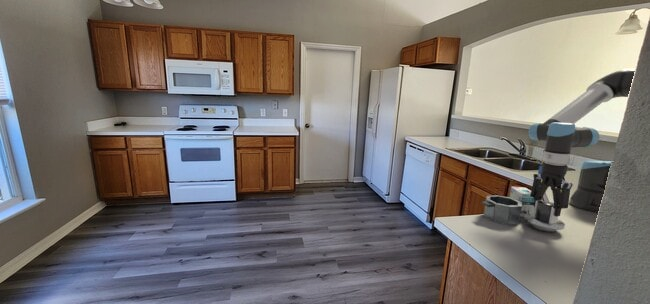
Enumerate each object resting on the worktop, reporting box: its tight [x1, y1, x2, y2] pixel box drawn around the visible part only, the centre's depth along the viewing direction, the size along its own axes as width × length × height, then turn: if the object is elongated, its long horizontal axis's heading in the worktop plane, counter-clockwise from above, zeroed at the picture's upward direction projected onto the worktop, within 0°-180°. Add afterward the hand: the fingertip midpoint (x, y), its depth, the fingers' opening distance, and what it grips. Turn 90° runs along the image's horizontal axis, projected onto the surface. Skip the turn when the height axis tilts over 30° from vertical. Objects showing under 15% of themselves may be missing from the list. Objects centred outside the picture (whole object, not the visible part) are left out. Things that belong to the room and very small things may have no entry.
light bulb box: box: [509, 186, 535, 218], centre depth 123 cm, size 11×7×11 cm, turn 169°
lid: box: [524, 200, 566, 233], centre depth 108 cm, size 12×12×10 cm
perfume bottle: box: [537, 164, 542, 174], centre depth 185 cm, size 6×6×12 cm
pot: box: [481, 194, 525, 226], centre depth 117 cm, size 18×13×8 cm
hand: (544, 219), depth 108 cm, fingers closed on lid, 6 cm apart
